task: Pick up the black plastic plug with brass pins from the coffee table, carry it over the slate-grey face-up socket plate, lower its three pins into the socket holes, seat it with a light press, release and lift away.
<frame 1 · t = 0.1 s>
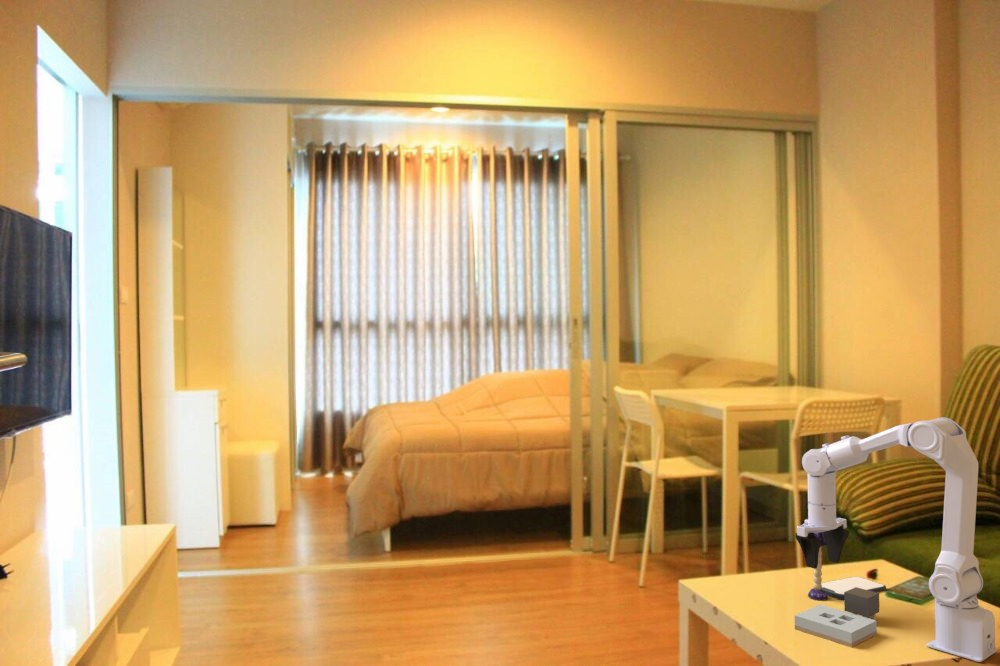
hand: (823, 564, 167), 10 cm above the table, fingers open, 7 cm apart
socket: (835, 631, 154), on the table
phone case: (849, 592, 179), on the table
plug: (862, 618, 161), on the table
toy lamp: (817, 598, 174), on the table
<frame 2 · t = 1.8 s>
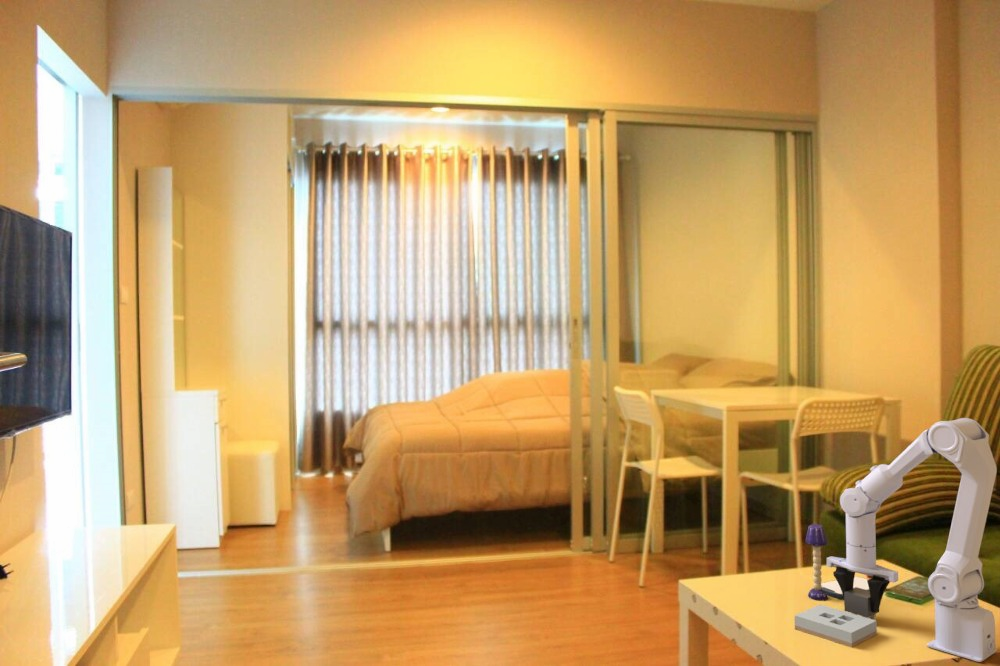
hand: (861, 607, 161), 2 cm above the table, fingers closed on plug, 5 cm apart
plug: (862, 618, 161), on the table, touching gripper
everything else where it was.
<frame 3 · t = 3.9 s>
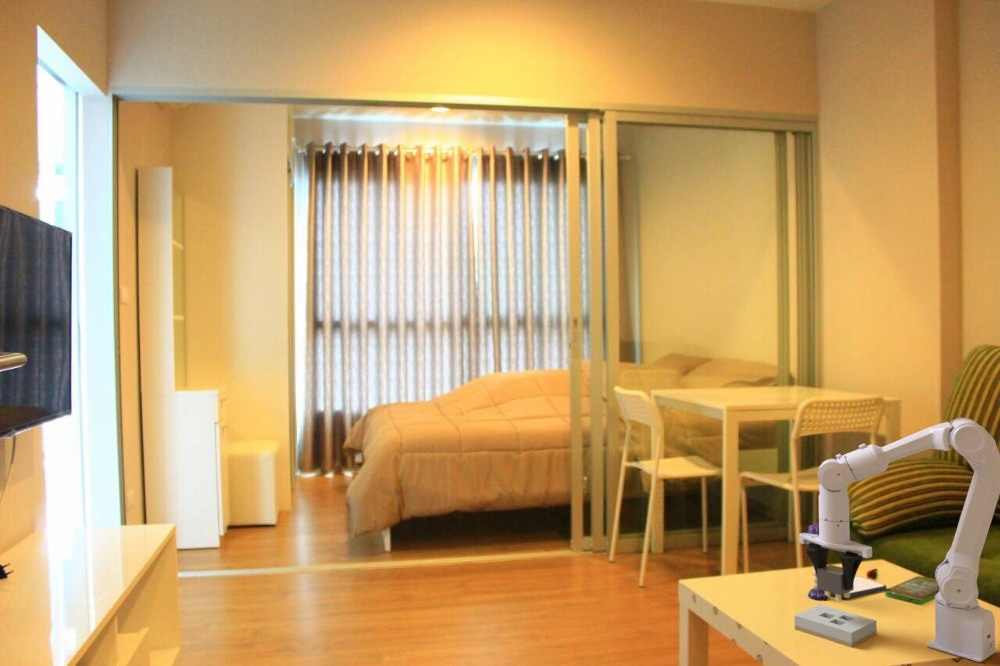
hand: (835, 585, 154), 9 cm above the table, fingers closed on plug, 5 cm apart
plug: (835, 597, 154), point 7 cm above the table, touching gripper
everything else where it was.
when the fingers open (4 cm above the table, at t = 6.2 s): plug stays where it is, resting on socket.
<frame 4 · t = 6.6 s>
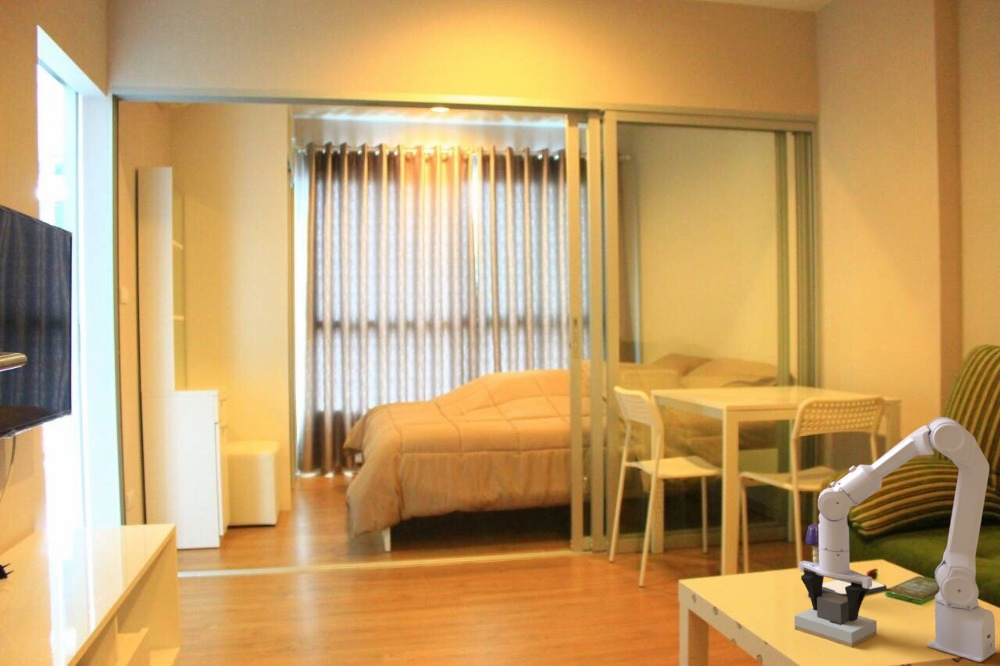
hand: (835, 614, 154), 4 cm above the table, fingers open, 7 cm apart
plug: (835, 625, 154), point 1 cm above the table, touching socket
everything else where it was.
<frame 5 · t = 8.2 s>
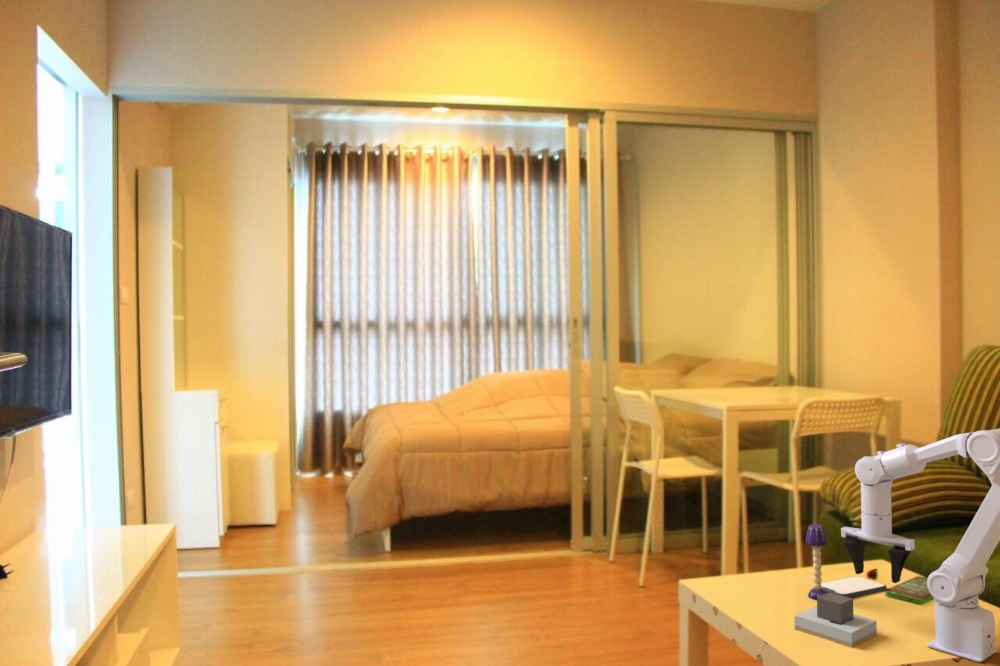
hand: (877, 577, 159), 9 cm above the table, fingers open, 7 cm apart
nothing on the table moved.
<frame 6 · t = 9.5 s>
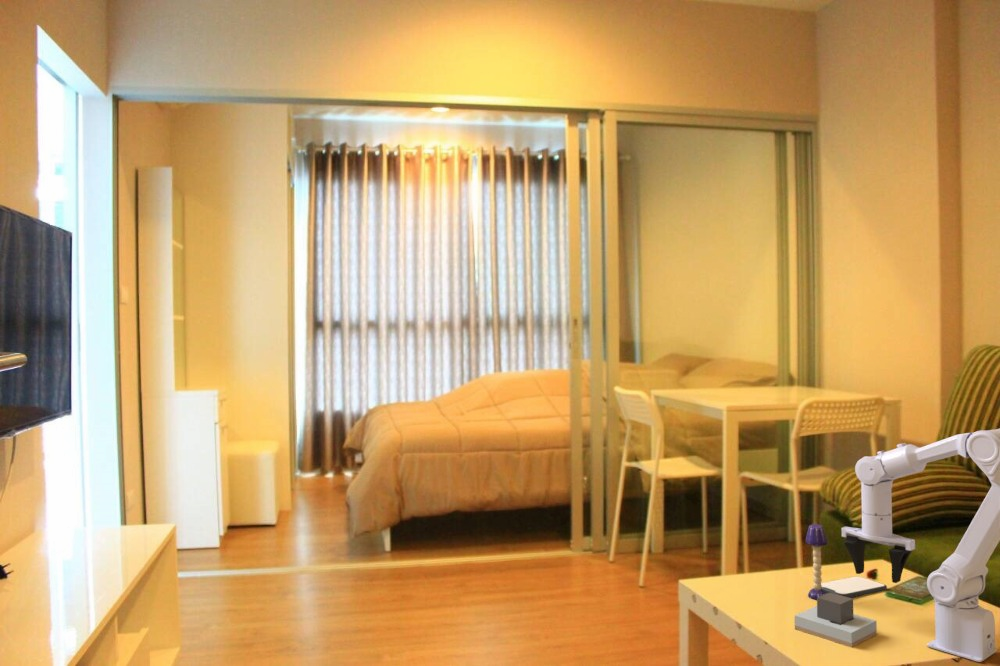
hand: (877, 577, 159), 9 cm above the table, fingers open, 7 cm apart
nothing on the table moved.
at the end: plug 0.1 cm off-centre on the socket, point 1.2 cm above the socket's base; plug tilted 0°; the gripper is holding nothing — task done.
